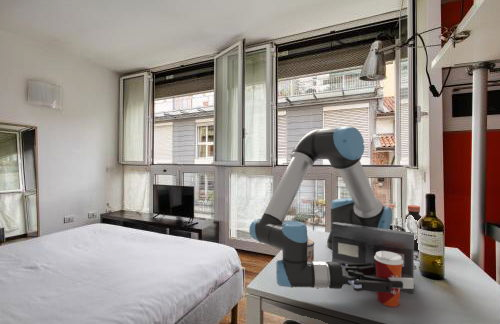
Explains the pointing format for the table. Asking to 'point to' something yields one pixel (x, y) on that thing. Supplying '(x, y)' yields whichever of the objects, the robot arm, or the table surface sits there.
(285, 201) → the robot arm
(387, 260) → the paper cup
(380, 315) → the table surface
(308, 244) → the teacup with lid
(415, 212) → the bottle
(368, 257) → the panel
